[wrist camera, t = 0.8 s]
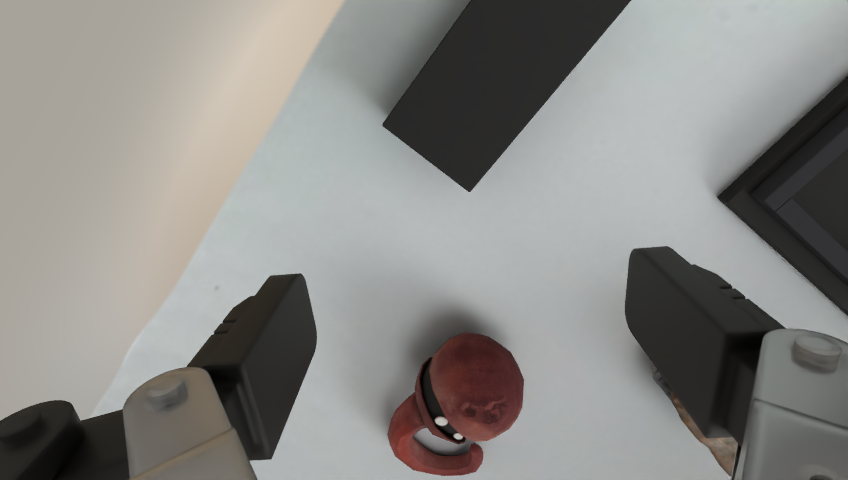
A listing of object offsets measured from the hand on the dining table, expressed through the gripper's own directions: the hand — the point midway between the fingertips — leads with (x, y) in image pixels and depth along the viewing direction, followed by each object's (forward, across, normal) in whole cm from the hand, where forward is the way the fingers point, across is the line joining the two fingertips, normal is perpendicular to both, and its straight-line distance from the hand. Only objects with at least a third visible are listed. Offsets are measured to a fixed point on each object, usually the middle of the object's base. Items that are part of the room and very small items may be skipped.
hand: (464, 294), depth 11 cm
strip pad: (+15, -3, -5) cm, 16 cm away
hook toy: (+15, +1, +17) cm, 23 cm away
